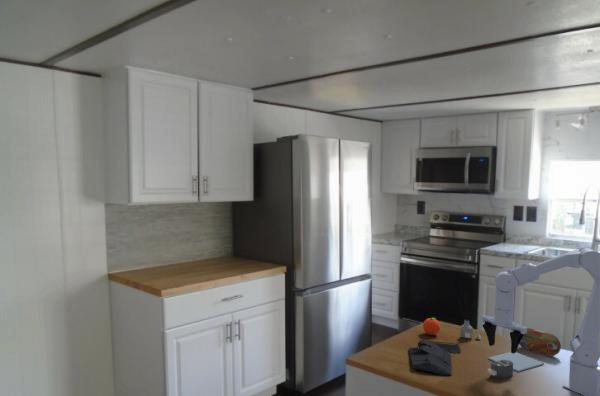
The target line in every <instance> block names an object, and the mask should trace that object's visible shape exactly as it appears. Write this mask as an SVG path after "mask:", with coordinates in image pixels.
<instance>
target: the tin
mask: <svg viewBox="0 0 600 396" xmlns="http://www.w3.org/2000/svg"><path fill="white" fill-rule="evenodd" d="M519 346H520V347H521V348H522V349H524V350H525V351H528V352H532V353H534V354H537V355H538V354H539V355H542V356H545V357H548V358H549V357H551V358H552V357H555V356H556V355H558V354H559V353H560V352H561V349H562V348H561V347H562V346H561V341H560V339H559V338H558V337H557V336H556V335H555V334H553V333H550V332H546V331H543V330H538V329H535V328H531V327H527V333H526V334H525V335H524V336H523V338H522V339H521V341H520V343H519Z"/></svg>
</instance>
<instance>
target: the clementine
mask: <svg viewBox="0 0 600 396" xmlns="http://www.w3.org/2000/svg"><path fill="white" fill-rule="evenodd" d="M422 328H423V331H424V332H425V333H426V334H427V335H429V336H436V335H437V334H438V333H439V332H440V331H441V325H440V322H439V321H438V320H437V317H430V318H426V319H425V320H424V322H423V323H422Z"/></svg>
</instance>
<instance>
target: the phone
mask: <svg viewBox="0 0 600 396" xmlns="http://www.w3.org/2000/svg"><path fill="white" fill-rule="evenodd" d="M421 340H422V339H420V340H419V342H418V344H419V343H420V342H421ZM428 341H429V342H432V343H434V344H436V345H438V346H439V347H440V348H441V349H443V350H445V351H447V352H449V353H453V354H460V353H461V348H460V344H457V343H450V342H443V341H434V340H433V341H432V340H428Z"/></svg>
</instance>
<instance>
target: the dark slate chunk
mask: <svg viewBox="0 0 600 396" xmlns="http://www.w3.org/2000/svg"><path fill="white" fill-rule="evenodd" d="M420 340H421V342H420V343H419V342H418V347H408V351H409V352H408V353H409V357H410V361H411V366H412V367H413V368H414V369H415V370H417V371H423V372H428V373H432V374H435V375H436V374H437V375H440V376H443V377H444V376H445V377H448V376H449V377H450V376H452V374H453V372H452V370H453V369H452V368H453V367H452V365H453V364H452V354H451V352H447V351H445V350H443V349H441V348H440V347H439V346H438V345H436V344H434V343H432V342H429V341H430V340H426V339H420Z"/></svg>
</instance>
